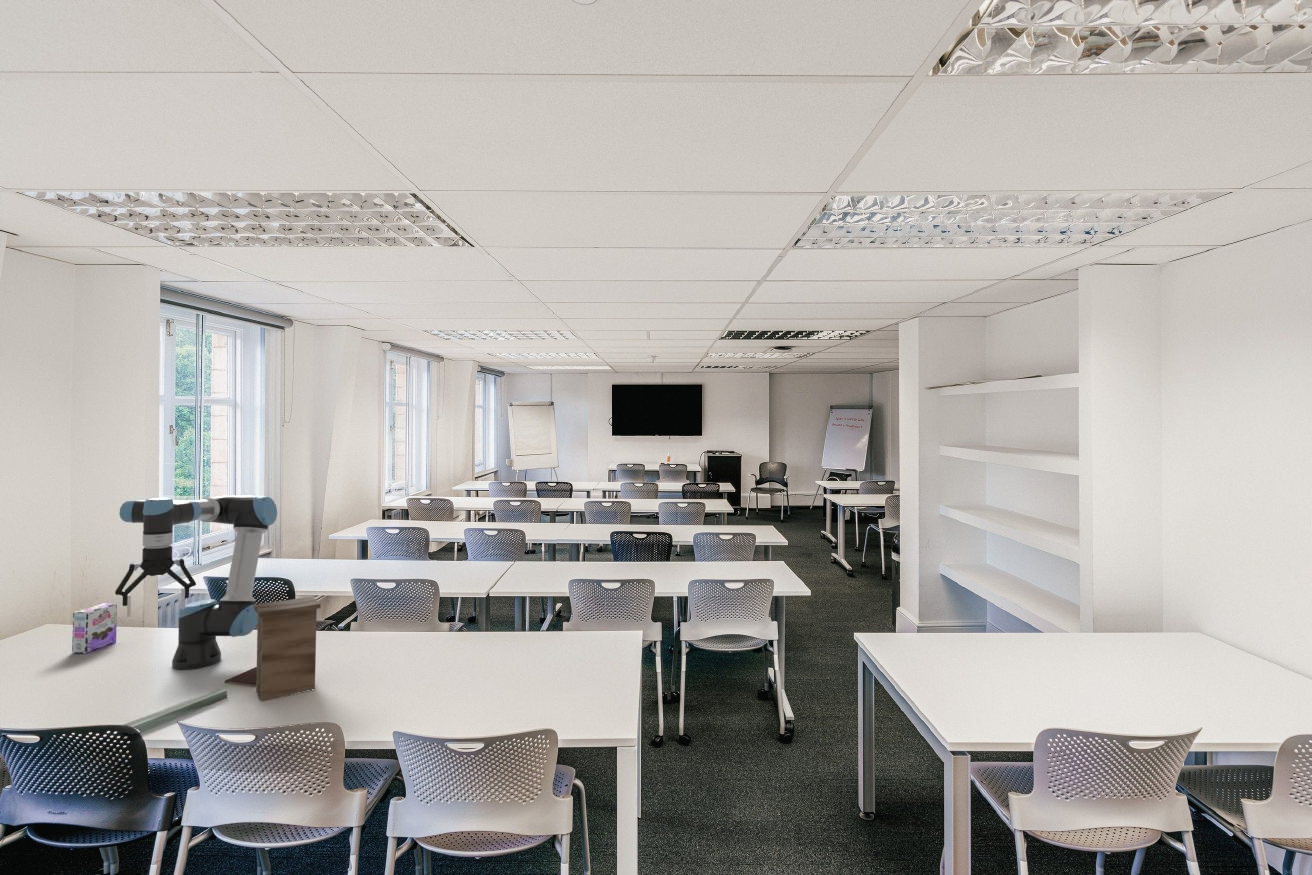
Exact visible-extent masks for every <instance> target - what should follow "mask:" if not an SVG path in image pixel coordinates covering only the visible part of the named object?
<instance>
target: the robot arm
mask: <svg viewBox="0 0 1312 875" xmlns="http://www.w3.org/2000/svg"><path fill="white" fill-rule="evenodd" d="M118 515H119V517H120V519H121V520H122V521H123V522H125V523H132V524H136V523H137V524H141V523H142V524H143V525H142V527H143V528H142V529H143V531H142V546H143V548H142V552H141V553H142V556H141V557H142V559H141V560H142V561H141V563H134V562H131V563H129V567H128V570H127V572H126V574H125V575H124V577H123V579H122V580H121V581H120V582H119V584H118V586H117V587H116V589H115V592H114V594H115V595H116V596H122V606H123V607H126V617H127V618H128V617H131V609H132V608H131V605H132V604H131V603H132V602H131V601H132V600H131V598H132V596H131V595H132V594H131V592H132V591H133V590H134V589H135V588H136V587H137V586H138V585H139V584H140V583H141V582H142V581H143V580H145V578H147V577H148V576H150V577H155V576H163V575H166V574H167V575H168V576H169V577H171V578H173V580H174V581H176V582H177V583H178V584H180V585H181V593H180V594H181V596H180V598H181V600H180V609H179V611H178V635H177V636H178V638H177V639H178V642H177V643H178V644H177V647H176V650H175V653H174V655H173V657H172V660H171V667H172V668H173V669H175V670H193V669H194V670H195V669H200V668H204V667H208V666H211V665H214V664H216V663H218V662H219V661H221V660H222V652H221V648H220V647H219V644H218V642H217V637H231V638H235V637H236V638H237V637H246V636H248V635H250V634H251V633H252V632H253V631H254V629H256V627H257V625H258V614H257V613H256V611H255V610H254V605H255V604H256V599H255V598H254V597H253V591H254V585H255V580H256V579H255V578H256V573H257V568H258V567H257V566H258V563H259V562H258V561H259V556H260V550H261V544H262V538H263V535H264V533H266V532H268V529H269V526H271V525H273V524H274V523H275V521H277V516H278V509H277V505H276V503H275V501H274V500H273V498H271V497H269V496H266V495H243V494H242V495H237V494H235V495H234V494H233V495H232V494H230V495H229V494H228V495H222V496H220V495H219V496H214V497H213V496H212V497H203V498H200V499H190V500H189V499H187V500H186V499H184V500H183V499H181V500H180V499H177V500H176V499H173V498H170V497H153V498H147V499H146V500H142V499H141V500H140V499H135V500H129V499H128V500H126V501H124V502H123V503H122V504H121V505H120V508H119V514H118ZM194 521H199V522H201V523H202V522H203V523H216V524H225V525H226V524H227V525H233V530H234V531H235V532H236V535H235V541H234V547H233V552H232V557H231V564H230V569H229V575H228V580H227V586H226V591H225V595H224V596H223V597H222V598H220V600H219V603H218V601H217V600H216V599H214V598H211V599H210V598H209V599H202V600H197V601H192V602H190V603H187V604H185V603H186V602H185V601H186V599H189V598H190V589H191V588H192V587H196V585H197V582H196V581H195V579H194V578H193V576H192V575H191V573H190V572H189V570H188V568H187V567H186V564H185V560H184V558H179V559H176V560H174V559H173V546H172V544H173V540H174V539H173V534H174V530H173V527H174V525H181V524H189V523H191V522H194ZM174 565H175V566H176V567H180V569H181V571H182V572H183V574H184V576H185V577H186V579H187V580H188V582H187V581H185V580H184V579H183V578H181V577H180V576H179V575H178V574H177V573H176V572H174V571H173V569H171V568H172V567H174ZM139 568H140V569H141V570H142V572H141V573H140V575H138V576H137V578H135V579H134V580H133V581H132V582H131V584H129V585H128V586H127V584H128V582H129V581H130V579H131V577H132V576H133V573H134V572H136V571H137V570H138V569H139ZM125 586H127V587H126V588H125ZM124 588H125V589H124ZM123 589H124V590H123Z"/></svg>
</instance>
